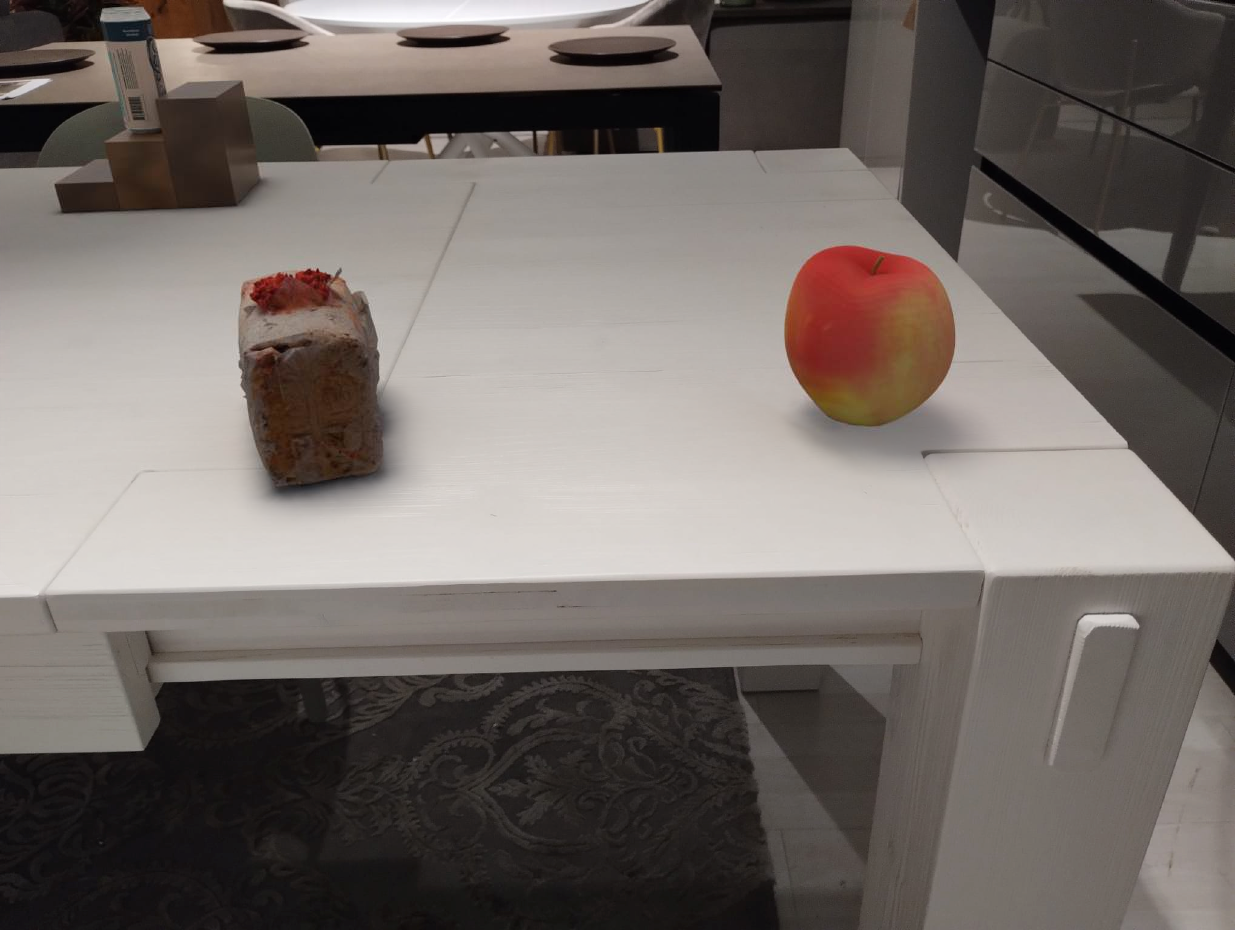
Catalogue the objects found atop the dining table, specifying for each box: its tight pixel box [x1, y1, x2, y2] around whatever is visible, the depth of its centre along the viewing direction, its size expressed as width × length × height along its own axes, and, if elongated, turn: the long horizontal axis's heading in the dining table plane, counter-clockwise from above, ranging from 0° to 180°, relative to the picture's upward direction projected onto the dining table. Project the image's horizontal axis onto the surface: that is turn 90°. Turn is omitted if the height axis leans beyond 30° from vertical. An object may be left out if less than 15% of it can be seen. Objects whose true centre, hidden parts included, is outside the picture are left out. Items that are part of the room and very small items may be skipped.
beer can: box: [99, 6, 168, 133], centre depth 106 cm, size 5×5×12 cm
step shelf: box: [53, 79, 261, 213], centre depth 110 cm, size 18×12×11 cm, turn 95°
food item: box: [237, 267, 384, 487], centre depth 58 cm, size 14×8×10 cm, turn 20°
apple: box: [783, 244, 957, 428], centre depth 59 cm, size 10×10×10 cm
